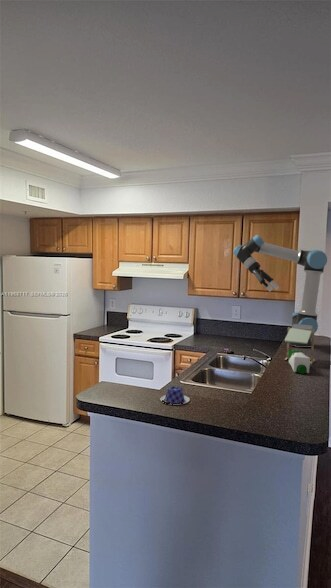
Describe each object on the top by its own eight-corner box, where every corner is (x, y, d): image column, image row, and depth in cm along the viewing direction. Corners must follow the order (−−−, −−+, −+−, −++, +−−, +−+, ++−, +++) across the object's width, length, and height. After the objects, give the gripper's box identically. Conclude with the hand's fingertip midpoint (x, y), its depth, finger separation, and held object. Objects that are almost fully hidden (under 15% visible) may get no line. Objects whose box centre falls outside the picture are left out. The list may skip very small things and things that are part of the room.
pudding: (161, 395, 158) (161, 383, 158) (190, 396, 157) (190, 384, 157) (158, 405, 146) (158, 392, 146) (189, 407, 145) (189, 393, 145)
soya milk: (286, 363, 209) (293, 374, 190) (287, 347, 209) (294, 356, 189) (302, 364, 208) (311, 375, 188) (303, 348, 207) (312, 357, 188)
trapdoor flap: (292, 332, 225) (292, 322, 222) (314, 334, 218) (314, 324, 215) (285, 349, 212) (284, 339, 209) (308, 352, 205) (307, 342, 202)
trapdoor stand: (289, 357, 225) (290, 325, 223) (315, 360, 217) (316, 328, 215) (284, 360, 216) (285, 328, 214) (311, 364, 208) (312, 330, 206)
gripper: (254, 269, 252) (276, 292, 245) (240, 269, 231) (264, 294, 225) (262, 261, 249) (284, 284, 242) (249, 260, 228) (273, 286, 221)
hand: (274, 289), depth 233 cm, fingers open, 13 cm apart
